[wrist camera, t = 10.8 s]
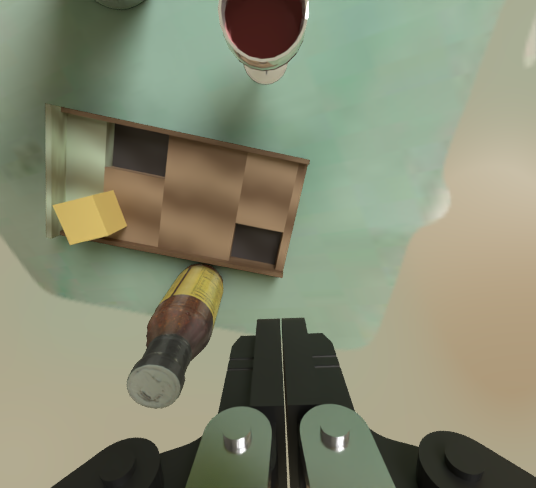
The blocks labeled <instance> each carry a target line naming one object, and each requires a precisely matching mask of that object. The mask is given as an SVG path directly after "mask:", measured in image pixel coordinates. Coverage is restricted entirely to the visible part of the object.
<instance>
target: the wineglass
mask: <svg viewBox="0 0 536 488" xmlns="http://www.w3.org/2000/svg"><path fill="white" fill-rule="evenodd" d="M218 13H219V20H220V26H221V28H222V31H223V36H224V38H225V40H226V43H227V45H228V47H229V49H230V51H231V52H232V53H233V54H234V55H235V57H236V58H237V59H238V60H239V61H240V62H241V63H243V64H244V67H245V69H246V72H247V74H248V75H249V76H250V77H251V78H252V79H253V80H254V81H256V82H258V83H261V84H272V83H274V82H276V81H278V80H279V79H280V78H281V77H282V76H283V74H284V72H285V70H286V69H287V64H288V62H289V61H290V60H291V59H292V58H293V57H294V56H295V55H296V53H297V51H298V50H299V48H300V46H301V44H302V42H303V39H304V34H305V29H306V24H307V19H308V14H309V9H308V0H219V5H218Z"/></svg>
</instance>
